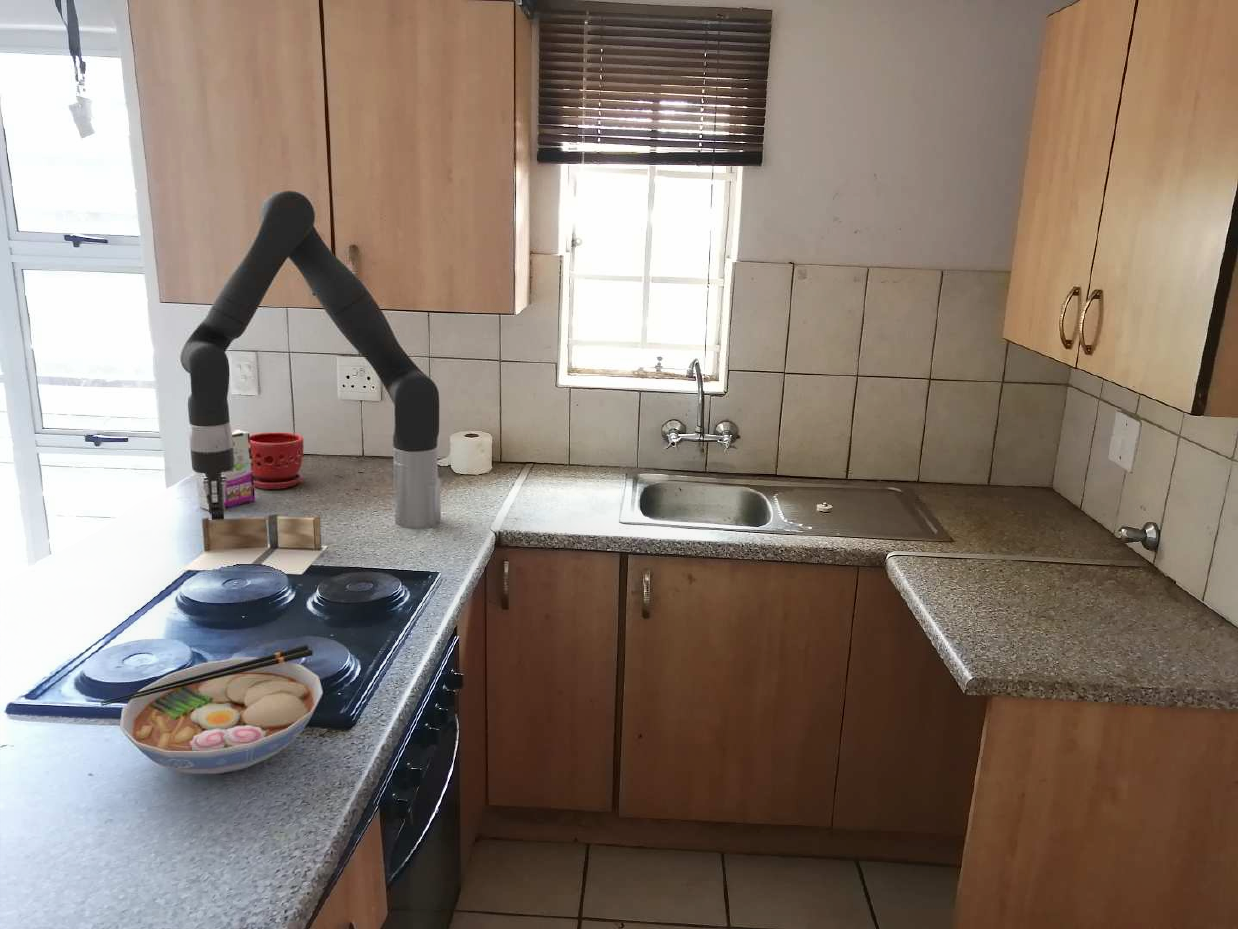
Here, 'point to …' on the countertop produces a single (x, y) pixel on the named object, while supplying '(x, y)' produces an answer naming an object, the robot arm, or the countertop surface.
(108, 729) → the countertop surface
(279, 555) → the card
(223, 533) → the fence hinged panel
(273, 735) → the ramen bowl
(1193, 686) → the countertop surface
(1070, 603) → the countertop surface
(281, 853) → the countertop surface
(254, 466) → the plant pot
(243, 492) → the candy bar box
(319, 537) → the fence fixed
